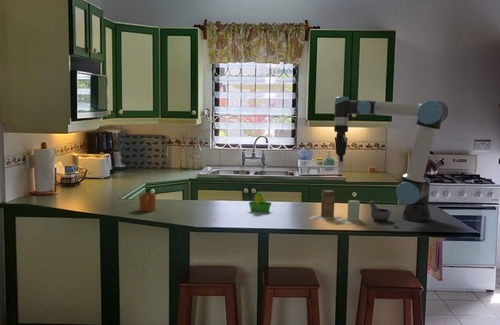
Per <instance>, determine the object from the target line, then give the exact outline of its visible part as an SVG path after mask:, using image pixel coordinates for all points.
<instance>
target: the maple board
mask: <svg viewBox="0 0 500 325" xmlns="http://www.w3.org/2000/svg"><path fill="white" fill-rule="evenodd" d="M347 218H348V217H341V216H340V217H339V216H335V215H334V218H323V217H321V213H319V214H316V215H315V214H314V215H312V216H310V217H307V218H306V219H308V220H313V221H321V222H328V223H335V224H341V225H348V226H351V225H354V224H355V223H358V222H360V221H361V219H359V220H358V221H357V222H355V221H347Z"/></svg>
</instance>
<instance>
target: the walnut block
mask: <svg viewBox="0 0 500 325" xmlns="http://www.w3.org/2000/svg"><path fill="white" fill-rule="evenodd" d="M335 195H336V192H335V191H334V190H332V189H324V190H321V207H320V208H321V210H320V215H321V217H323V218H334V216H335V199H336V198H335Z"/></svg>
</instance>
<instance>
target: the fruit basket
mask: <svg viewBox="0 0 500 325" xmlns="http://www.w3.org/2000/svg"><path fill="white" fill-rule="evenodd" d="M253 199H254V200H251V201H249V202H248V204H249V208H250V212H255V213H261V212H262V213H263V214H266V213H268V212H270V209H271V205H272V202H270V201H269V202H268V201H266V200H264V199H265V197H264V196H263V195H262V194H261V192H256V193H255V195H254V198H253Z"/></svg>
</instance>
